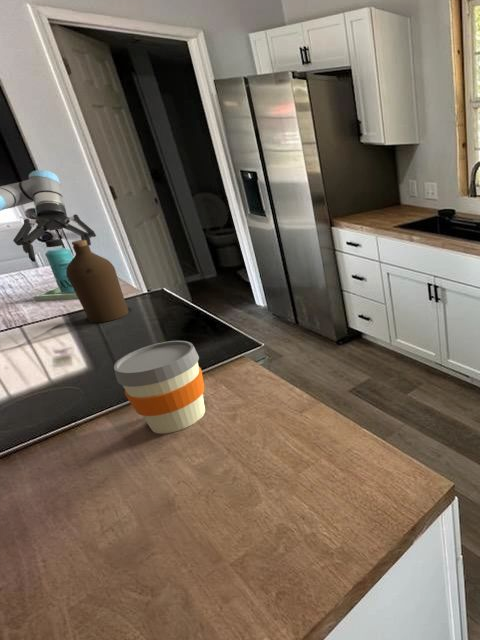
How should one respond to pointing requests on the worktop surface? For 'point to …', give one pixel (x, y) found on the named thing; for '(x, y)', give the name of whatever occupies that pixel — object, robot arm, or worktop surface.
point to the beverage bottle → (59, 263)
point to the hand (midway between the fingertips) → (60, 256)
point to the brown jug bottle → (96, 285)
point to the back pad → (49, 295)
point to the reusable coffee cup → (164, 384)
